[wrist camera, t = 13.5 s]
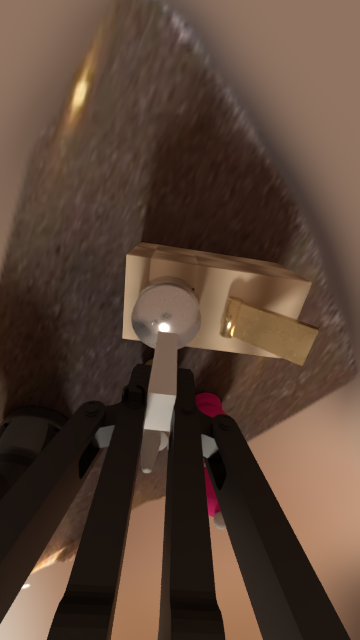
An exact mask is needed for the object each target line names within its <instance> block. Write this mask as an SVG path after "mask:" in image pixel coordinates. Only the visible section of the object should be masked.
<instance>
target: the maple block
mask: <svg viewBox="0 0 360 640" xmlns="http://www.w3.org/2000/svg"><path fill="white" fill-rule="evenodd" d="M163 276H172V277H176V278H179V279H181V280H183V281H185V282H186V283H188V284H189V285H190V286H191V287H192V288H193V290H194V291H195V293H196V296H197V299H198V304H199V309H200V314H201V326H200V330H199V332H198V334H197V336H196V337H195V338H194V339H193V340H192V341H191V342H190V343H189V344H188V345H186V346H188V347H196V348H204V349H212V350H219V351H227V352H235V353H243V354H251V355H259V356H267V357H275V358H281V357H279V356H277V355H275V354H272V353H270V352H268V351H265V350H263V349H261V348H258V347H256V346H254V345H251V344H249V343H246V342H244V341H242V340H239V339H237V338H235V337H232V338H225V337H222V336H221V335H220V334H219V332H220V328H221V324H222V320H223V317H224V313H225V309H226V305H227V301H228V297H238V298H240V299H242V300H243V301H244V302H247V303H250V304H253V305H256V306H259V307H262V308H264V309H267V310H270V311H273V312H276V313H279V314H282V315H285V316H288V317H291V318H294V319H297V318H298V316H299V314H300V311H301V309H302V306H303V304H304V301H305V299H306V296H307V294H308V292H309V289H310V287H311V284H312V282H310V281H309V280H307V279H305V278H303V277H301V276H300V275H298V274H296V273H294V272H292V271H291V270H289V269H287V268H285V267H283V266H282V265H280V264H278V263H274V262H268V261H261V260H255V259H248V258H242V257H235V256H229V255H222V254H216V253H209V252H203V251H197V250H190V249H184V248H177V247H171V246H164V245H158V244H151V243H145V242H140V243H139V244H138V245H137V246H136V247H135V248H134V249H132V250H131V251H130V252H129V253H128V254H127V257H126V278H125V299H124V319H123V338H124V339H132V340H140V339H139V338H138V337H137V335H136V334H135V332H134V330H133V327H132V322H131V315H132V310H133V308H134V305H135V303H136V301H137V299H138V297H139V294H140V292H141V290H142V289H143V287H144V286H145V285H146V284H147V283H148V282H150V281H151V280H153V279H155V278H159V277H163ZM140 341H141V340H140Z"/></svg>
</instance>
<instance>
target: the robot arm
mask: <svg viewBox="0 0 360 640" xmlns="http://www.w3.org/2000/svg"><path fill="white" fill-rule="evenodd" d="M177 338H178V334H176V333H168V332H161V331H158V336H157V342H156V347H155V353H154V359H153V364H152V365H145V364H137V365H136V366H135V367H134V368H133V371H132V375H131V378H130V381H129V384H128V385H127V386H125V387H124V388H123V390H122V401H121V402H119V403H117V404H115V405H110V406H105V405H104V404H103V403H102V402H100V401H88V402H86V403H84V404H83V405H82V406H80V407H79V409H78V410H77V411H76V412H75V413H74V415H73V416H72V417H71V418H70V419H69V420H68V419H67V418H65V417H64V416H62V415H61V414H59V413H57V412H55V411H52V410H49V409H45V408H40V407H24V408H20V409H17V410H15V411H13V412H11V413H10V414H9V415H8V416H7V417H6V419H5V420H4V421H3V422H2V423H1V425H0V623H1V622H2V620H3V618H4V617H5V615H6V613H7V612H8V610H9V608H10V607H11V605H12V603H13V602H14V600H15V598H16V596H17V595H18V593H19V591H20V590H21V588H22V586H23V585H24V583H25V581H26V580H27V578H28V576H29V574H30V573H31V571H32V569H33V568H34V566H35V564H36V563H37V561H38V559H39V558H40V556H41V554H42V553H43V551H44V549H45V547H46V546H47V544H48V542H49V541H50V539H51V537H52V536H53V534H54V532H55V531H56V529H57V527H58V525H59V524H60V522H61V520H62V519H63V517H64V515H65V514H66V512H67V510H68V509H69V507H70V505H71V503H72V502H73V500H74V498H75V497H76V495H77V493H78V492H79V490H80V488H81V487H82V485H83V483H84V481H85V480H86V478H87V476H88V475H89V473H90V471H91V470H92V468H93V466H94V465H95V463H96V461H97V459H98V458H99V456H100V454H101V453H102V451H103V449H104V447H108V450H107V453H106V457H105V460H104V463H103V467H102V470H101V473H100V477H99V480H98V484H97V487H96V490H95V494H94V497H93V500H92V504H91V507H90V511H89V514H88V517H87V521H86V524H85V527H84V531H83V534H82V537H81V541H80V544H79V548H78V551H77V554H76V558H75V561H74V565H73V568H72V571H71V575H70V578H69V581H68V585H67V588H66V591H65V593H64V596H63V598H62V600H61V601H60V603H59V605H58V608H57V610H56V613H55V615H54V619H53V622H52V625H51V628H50V631H49V634H48V637H47V640H111V634H112V627H113V620H114V613H115V608H116V601H117V595H118V589H119V583H120V576H121V570H122V564H123V557H124V550H125V545H126V538H127V532H128V526H129V520H130V514H131V507H132V501H133V495H134V489H135V482H136V476H137V470H138V464H139V457H140V451H141V445H142V438H143V431H144V429H149V430H159V431H169V432H170V436H169V441H168V447H167V450H168V463H167V483H166V502H165V503H166V504H165V521H164V541H163V561H162V579H161V600H160V618H159V632H158V640H225V632H224V625H223V619H222V615H221V611H220V609H219V607H218V604H217V600H216V593H215V583H214V571H213V560H212V549H211V538H210V527H209V516H208V505H207V494H206V483H205V471H204V462H205V465H206V468H207V471H208V474H209V477H210V480H211V483H212V486H213V489H214V492H215V495H216V498H217V501H218V504H219V507H220V510H221V513H222V516H223V519H224V522H225V525H226V529H227V531H228V535H229V537H230V541H231V544H232V547H233V550H234V553H235V556H236V559H237V562H238V565H239V568H240V571H241V574H242V577H243V580H244V583H245V586H246V589H247V592H248V595H249V598H250V601H251V604H252V607H253V610H254V614H255V616H256V620H257V623H258V626H259V629H260V632H261V635H262V638H263V640H351V639H350V638H349V636H348V634H347V632H346V630H345V628H344V626H343V624H342V622H341V621H340V618H339V617H338V615H337V613H336V611H335V609H334V607H333V605H332V603H331V601H330V600H329V598H328V596H327V594H326V592H325V590H324V588H323V586H322V584H321V582H320V581H319V579H318V577H317V575H316V573H315V571H314V570H313V567H312V566H311V564H310V562H309V560H308V558H307V556H306V554H305V552H304V550H303V548H302V546H301V545H300V543H299V541H298V539H297V537H296V535H295V534H294V531H293V529H292V527H291V526H290V524H289V522H288V520H287V518H286V516H285V514H284V512H283V511H282V508H281V507H280V505H279V503H278V501H277V499H276V497H275V495H274V493H273V491H272V489H271V488H270V486H269V484H268V482H267V480H266V478H265V476H264V474H263V472H262V471H261V469H260V467H259V465H258V463H257V461H256V459H255V457H254V455H253V453H252V452H251V450H250V448H249V446H248V444H247V442H246V440H245V438H244V436H243V434H242V433H241V431H240V429H239V427H238V425H237V423H236V422H235V420H234V419H233V418H231V417H230V416H228V415H226V414H218V415H216V416H214V417H211V416H208V415H206V414H204V413H203V412H201V411H200V410H199V409H198V407H197V405H196V396H195V384H194V374H193V373H192V371H191V370H190V369H182V368H177ZM203 459H204V460H203Z"/></svg>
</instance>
